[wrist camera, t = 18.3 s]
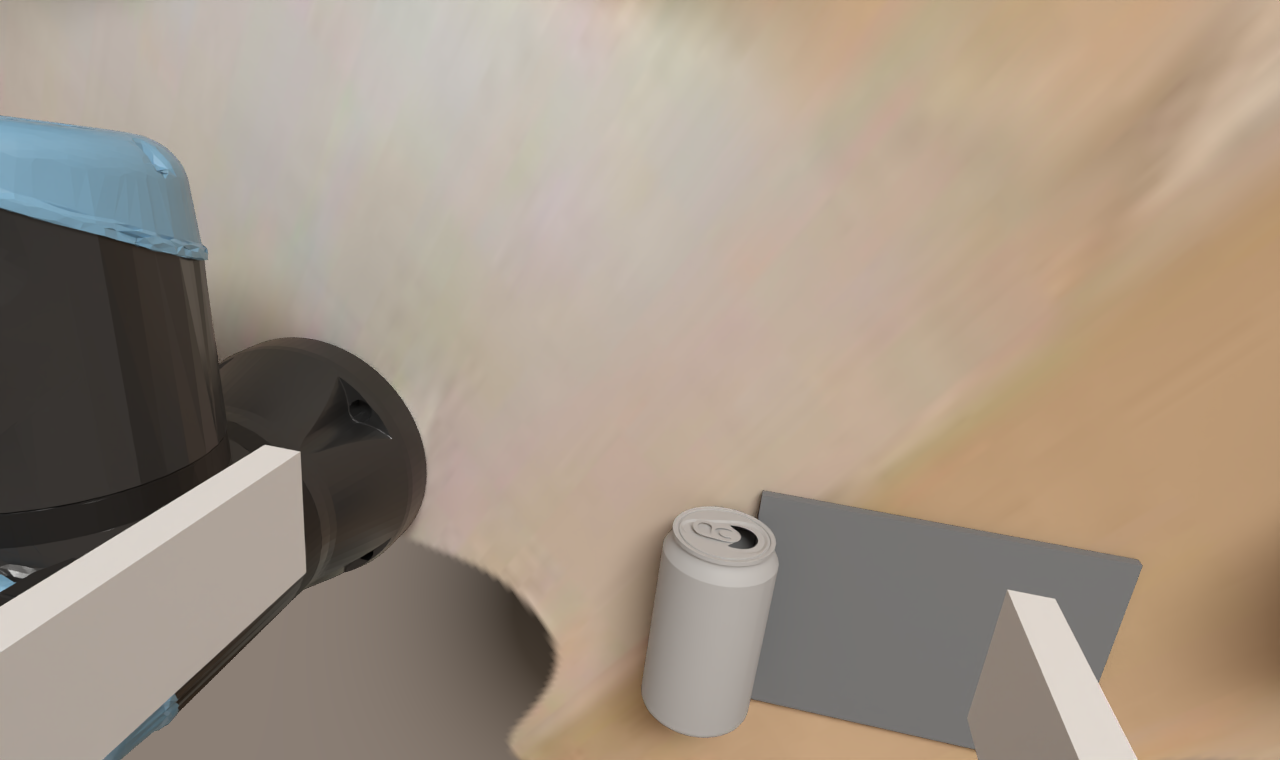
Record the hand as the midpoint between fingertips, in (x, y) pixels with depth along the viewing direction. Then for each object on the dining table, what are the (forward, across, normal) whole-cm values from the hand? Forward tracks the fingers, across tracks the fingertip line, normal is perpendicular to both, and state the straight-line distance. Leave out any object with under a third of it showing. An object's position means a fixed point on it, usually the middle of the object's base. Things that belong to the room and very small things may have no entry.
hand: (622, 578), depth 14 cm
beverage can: (+26, +1, -25) cm, 36 cm away
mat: (+29, +13, -19) cm, 37 cm away
